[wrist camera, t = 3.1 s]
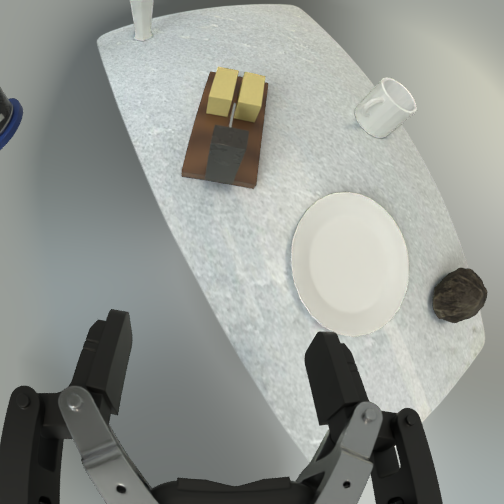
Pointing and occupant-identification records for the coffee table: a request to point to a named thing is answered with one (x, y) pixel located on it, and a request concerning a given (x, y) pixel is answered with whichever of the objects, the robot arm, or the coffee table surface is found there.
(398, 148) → the coffee table surface
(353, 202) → the plate
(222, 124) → the slicer board
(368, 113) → the mug
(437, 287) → the rock
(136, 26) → the white faceted vase
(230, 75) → the butter
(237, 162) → the knife
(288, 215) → the coffee table surface
